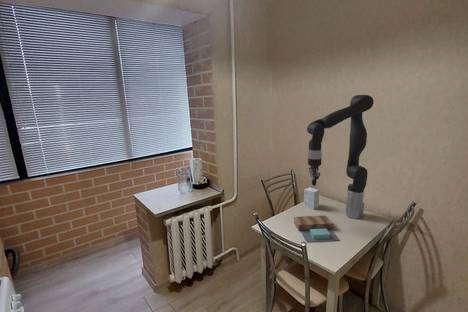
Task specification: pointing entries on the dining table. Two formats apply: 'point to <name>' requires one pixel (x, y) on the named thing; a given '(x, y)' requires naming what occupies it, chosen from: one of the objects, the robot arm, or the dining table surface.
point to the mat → (310, 239)
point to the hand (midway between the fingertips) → (313, 185)
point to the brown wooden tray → (313, 223)
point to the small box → (311, 198)
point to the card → (319, 233)
